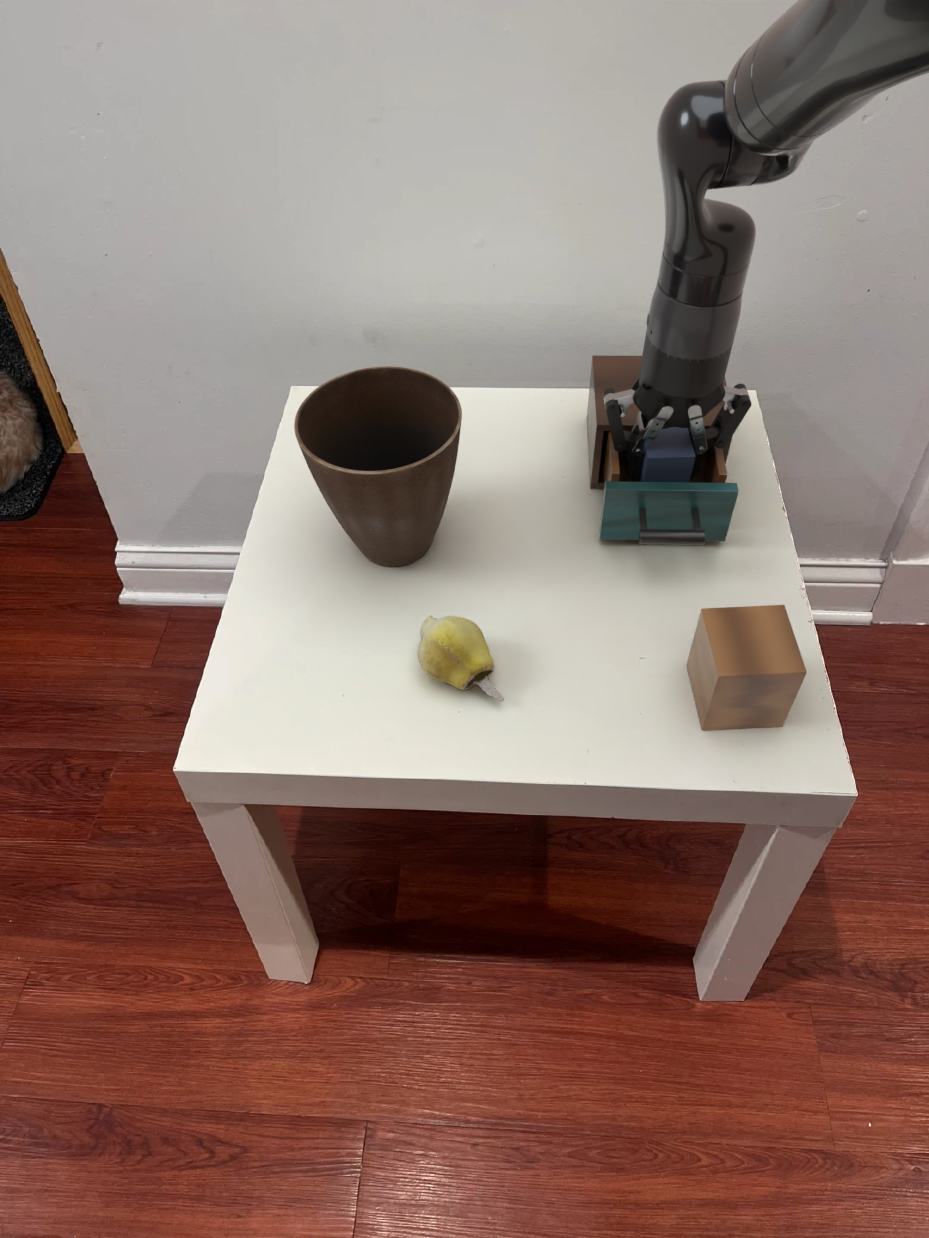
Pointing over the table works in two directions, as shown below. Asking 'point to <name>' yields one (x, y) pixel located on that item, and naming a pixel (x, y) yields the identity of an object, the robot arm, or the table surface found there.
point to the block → (669, 457)
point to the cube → (744, 667)
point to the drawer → (666, 503)
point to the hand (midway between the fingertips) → (660, 475)
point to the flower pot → (383, 456)
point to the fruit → (456, 653)
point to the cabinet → (621, 378)
